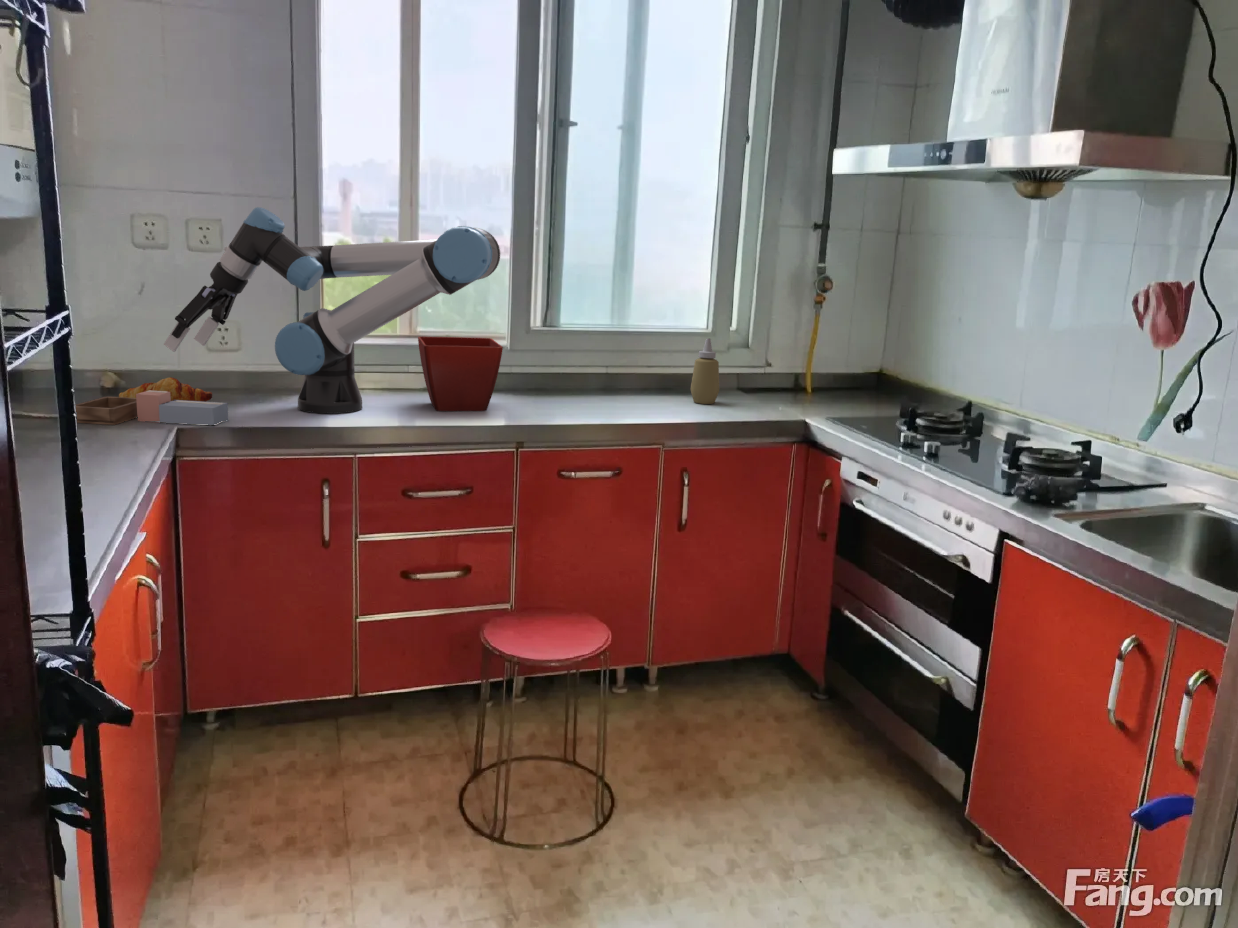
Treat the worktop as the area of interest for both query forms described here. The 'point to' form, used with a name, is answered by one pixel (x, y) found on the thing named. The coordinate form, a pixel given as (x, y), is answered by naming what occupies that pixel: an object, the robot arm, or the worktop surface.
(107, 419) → the tray
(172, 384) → the croissant
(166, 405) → the grey flat block
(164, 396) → the pink block
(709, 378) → the squeeze bottle
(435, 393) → the plant pot
